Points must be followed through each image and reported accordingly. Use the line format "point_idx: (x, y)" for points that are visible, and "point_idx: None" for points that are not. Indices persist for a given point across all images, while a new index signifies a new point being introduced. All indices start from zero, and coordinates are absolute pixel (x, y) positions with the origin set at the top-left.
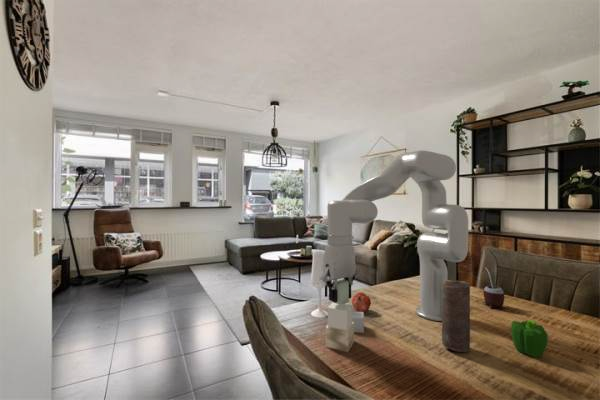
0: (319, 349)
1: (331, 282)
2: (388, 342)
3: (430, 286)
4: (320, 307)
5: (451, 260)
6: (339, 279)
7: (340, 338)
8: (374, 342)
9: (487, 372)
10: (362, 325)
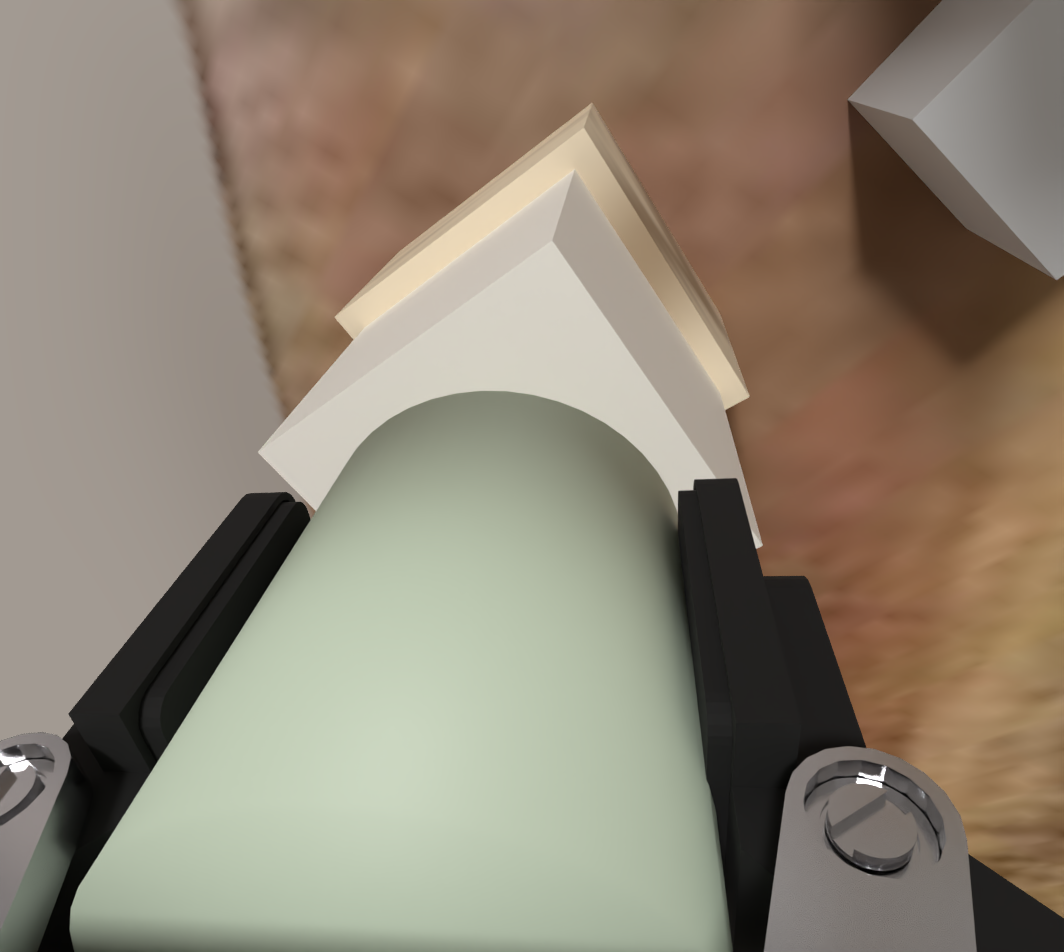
0: (323, 261)
1: (36, 935)
2: (964, 491)
3: None
4: None
5: None
6: (544, 898)
7: None
8: (861, 430)
9: (1056, 905)
10: (993, 238)
